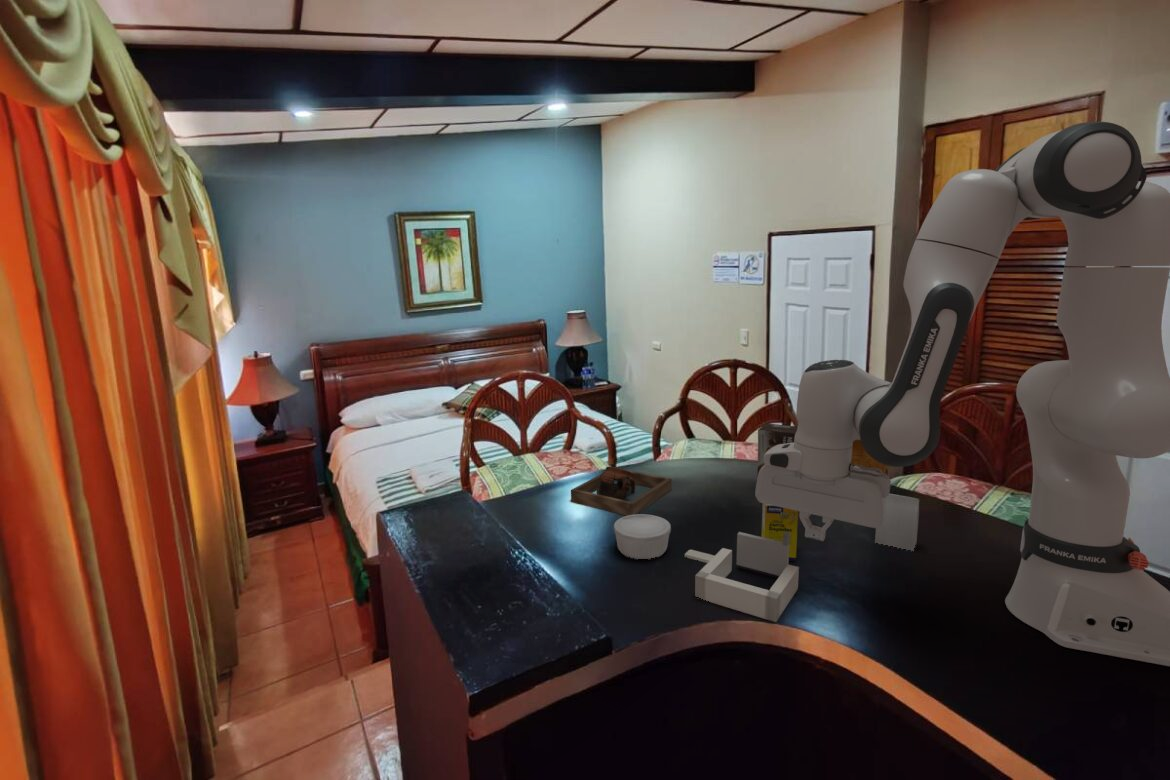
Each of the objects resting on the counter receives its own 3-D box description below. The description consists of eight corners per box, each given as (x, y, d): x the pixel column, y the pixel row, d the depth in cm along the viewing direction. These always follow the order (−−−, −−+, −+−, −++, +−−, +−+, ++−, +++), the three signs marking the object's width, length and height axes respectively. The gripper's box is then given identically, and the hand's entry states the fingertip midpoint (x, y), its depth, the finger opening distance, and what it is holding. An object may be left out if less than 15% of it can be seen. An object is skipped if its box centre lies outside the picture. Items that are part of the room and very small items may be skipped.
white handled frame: (802, 581, 105) (803, 560, 104) (776, 622, 94) (777, 598, 93) (690, 552, 117) (690, 532, 116) (654, 584, 106) (654, 563, 105)
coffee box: (800, 490, 147) (803, 426, 144) (794, 499, 142) (797, 433, 139) (763, 484, 152) (765, 422, 149) (755, 492, 147) (757, 428, 144)
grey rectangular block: (913, 551, 115) (917, 502, 113) (874, 543, 119) (878, 495, 117) (916, 544, 118) (920, 496, 116) (878, 536, 122) (882, 489, 120)
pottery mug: (587, 495, 149) (597, 463, 151) (619, 506, 152) (628, 475, 154) (609, 499, 138) (619, 465, 140) (643, 511, 142) (652, 477, 143)
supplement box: (796, 562, 112) (799, 506, 110) (763, 559, 113) (765, 505, 111) (792, 547, 118) (794, 494, 116) (760, 545, 119) (762, 493, 117)
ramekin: (656, 533, 126) (656, 510, 125) (680, 557, 115) (681, 531, 114) (606, 542, 123) (605, 518, 122) (626, 567, 112) (626, 541, 111)
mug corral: (671, 490, 150) (671, 478, 149) (632, 516, 134) (632, 504, 134) (613, 478, 159) (613, 467, 159) (571, 501, 144) (570, 490, 143)
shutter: (788, 574, 106) (790, 532, 104) (785, 578, 105) (787, 535, 103) (738, 561, 111) (739, 521, 109) (736, 564, 110) (737, 523, 108)
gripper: (895, 465, 95) (886, 547, 98) (766, 444, 106) (762, 517, 109) (888, 477, 90) (879, 562, 93) (754, 453, 101) (749, 529, 104)
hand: (814, 538), depth 101 cm, fingers closed
